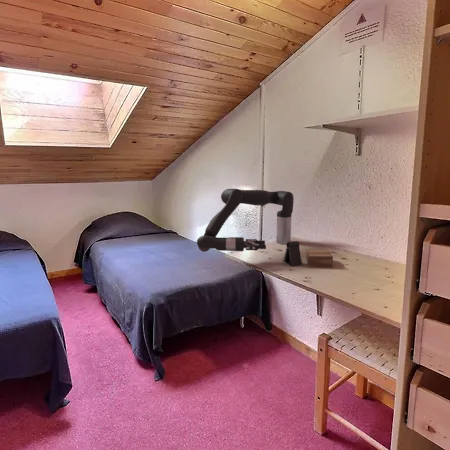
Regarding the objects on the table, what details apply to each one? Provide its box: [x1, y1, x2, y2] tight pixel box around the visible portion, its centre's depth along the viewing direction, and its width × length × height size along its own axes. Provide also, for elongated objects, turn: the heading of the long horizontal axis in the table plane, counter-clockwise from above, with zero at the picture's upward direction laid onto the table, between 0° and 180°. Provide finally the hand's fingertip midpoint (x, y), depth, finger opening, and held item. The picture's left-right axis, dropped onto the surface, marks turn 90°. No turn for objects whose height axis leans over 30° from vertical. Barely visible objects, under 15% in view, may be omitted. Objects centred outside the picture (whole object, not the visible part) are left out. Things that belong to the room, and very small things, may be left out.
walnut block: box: [305, 249, 334, 268], centre depth 189 cm, size 12×12×6 cm
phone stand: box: [282, 240, 303, 267], centre depth 188 cm, size 9×6×12 cm, turn 21°
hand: (265, 244), depth 188 cm, fingers open, 8 cm apart
